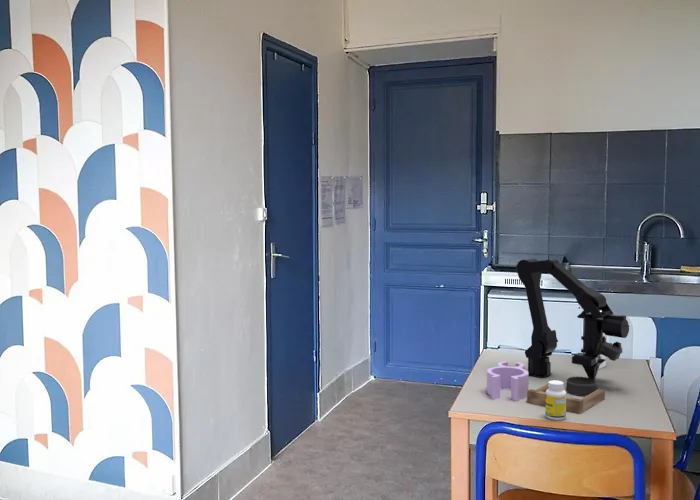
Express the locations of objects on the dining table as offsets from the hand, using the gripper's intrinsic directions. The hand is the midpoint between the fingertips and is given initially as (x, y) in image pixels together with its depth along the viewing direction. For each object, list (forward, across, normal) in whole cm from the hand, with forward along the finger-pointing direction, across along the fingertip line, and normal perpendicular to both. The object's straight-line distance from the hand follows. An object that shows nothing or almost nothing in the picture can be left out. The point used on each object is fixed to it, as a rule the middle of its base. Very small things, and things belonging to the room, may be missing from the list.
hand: (592, 381), depth 214 cm
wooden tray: (+1, -18, 0) cm, 19 cm away
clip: (+2, -21, +18) cm, 28 cm away
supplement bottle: (+2, -36, -4) cm, 36 cm away
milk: (+2, +24, +9) cm, 26 cm away
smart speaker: (+2, -8, 0) cm, 9 cm away
